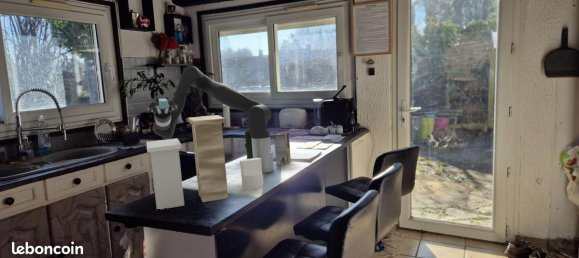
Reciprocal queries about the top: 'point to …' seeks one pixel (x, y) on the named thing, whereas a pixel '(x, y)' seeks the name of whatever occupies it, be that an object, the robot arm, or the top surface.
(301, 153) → the top surface
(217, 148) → the birch stand
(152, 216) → the top surface
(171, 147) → the white pedestal
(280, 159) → the coffee box
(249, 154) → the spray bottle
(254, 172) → the cylinder with rectangular tab
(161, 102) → the teal bar
